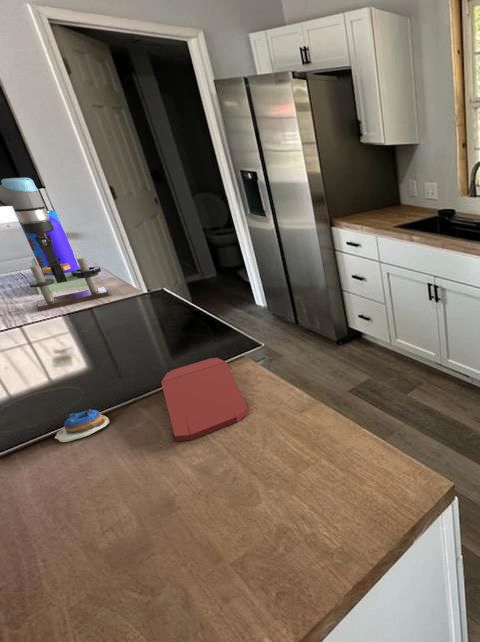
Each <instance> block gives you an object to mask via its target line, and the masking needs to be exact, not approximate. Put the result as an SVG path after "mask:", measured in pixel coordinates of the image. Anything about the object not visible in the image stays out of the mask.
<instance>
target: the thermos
mask: <svg viewBox="0 0 480 642" xmlns="http://www.w3.org/2000/svg"><path fill="white" fill-rule="evenodd" d="M48 211H49V212H50V213H47V214H48V215H49V216H51V217H53V218H55V219H56V220H58V221H59V223H60V225H61V227H62V229H63V231H64V227H63V226H62V223H61V221H60V219H59V216H58V214H57V212H56V211H55V210H48ZM17 220H18V219H17ZM18 223H19V225H20V227H21V229H22V232H23V234H24V235H25V238H26V240H27V243H28V245H29V247H30V249H31V251H32V254H33V255H34V258H35V260H36V262H37V265H39V267H40V269H41V272H42V274H43V276H52V274H51V273H44V272H43V270H42V268H44V267H47V264H46V262H45V259H44V257H43V255H42V253H41V250H40V248H39V246H38V244H37V242H36V240H35V236H34V234H26V233H25V232H24V230H23V228H22V226H21V225H22V222H19V220H18ZM64 232H65V231H64ZM66 238H67V239H68V237H67V236H66ZM69 245H70V243H69ZM70 246H71V245H70ZM74 257H75V255H74ZM75 258H76V257H75Z"/></svg>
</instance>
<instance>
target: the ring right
mask: <svg viewBox="0 0 480 642" xmlns="http://www.w3.org/2000/svg"><path fill="white" fill-rule="evenodd" d="M88 267H89V269H90V270H87V271H82V270H81V268H80V267H79V269H75V270H73V271H71V274H72V276H73V277H80V276H87V275H92V274H96V273H101V272H102V269H101V267H100V266H99V265H92V266H90V265H89V266H88Z"/></svg>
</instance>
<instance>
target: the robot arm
mask: <svg viewBox="0 0 480 642" xmlns="http://www.w3.org/2000/svg"><path fill="white" fill-rule="evenodd" d="M0 207H12V208H13V211H14V213H15V216H16V217H17V220H19V221H18V223H19V222H22V225H20V227H21V226H22V227H21V229H22V228H23V229H22V231H23V230H24V232H25V233H26V234H37V237H35V240H36V242H37V243H38V244H39V247H40V249H41V250H43V251H44V253H45V256H46V258H47V260H48V262H49V266H47V267H48V268H51V270H52V272H53V275H54V277H55V279H56V281H57V283H62V282H67V279H66V276H65V274H64V272H63V270H62V268H61V265H60V263H59V261H60V258H57V256H56V255H55V253H54V251H53V248H54V246H53V244H52V239H51V237H50V236H47V234H46V233H45V232H50V231H53V230H54V227H53V225H52V222H51V221H50V220H48V219H49V216H48V214H47V213H50V212H49V211H50V210H47V209H46V206H45V205H44V203H43V201H42V197H41V195H40V192H39V188H38V187H37V186H36V184H35V182H34V180H33V179H32V178H30V177H10V178H2V179H1V184H0ZM24 232H23V233H24Z"/></svg>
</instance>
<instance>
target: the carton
mask: <svg viewBox="0 0 480 642" xmlns="http://www.w3.org/2000/svg"><path fill="white" fill-rule="evenodd" d="M160 383H161V386H162V387H161V388H162V392H163V395H164V399H165V403H166V407H167V411H168V414H169V419H170V423H171V428H172V430H173V435H174V438H175V440H176V442H182V441H183V442H184V441H192V440H195V439H198V438H200V437H203V436H205V435H208V434H211V433H213V432H215V431H218V430H220V429H222V428H225V427H229V426H231V425H233V424H235V423H238V422H239V421H241V420H242V419H244V418H245V417H246V416H248V414H250V413H249V408H248V406H247V403H246V402H245V399H244V398H243V395H242V393H241V390H240V388H239V386H238V384H237V382H236V380H235V377H234V375H233V373H232V371H231V369H230V366H229V364H228V362H227V361H226V360H223V359H221V358H219V357H211V358H207V359H204V360H200V361H197V362H194V363H191V364H187V365H184V366H181V367H177V368H175V369H171V370H170V371H168V372H166V374H165V375H164V377H163V378H162V380H161V382H160Z"/></svg>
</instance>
